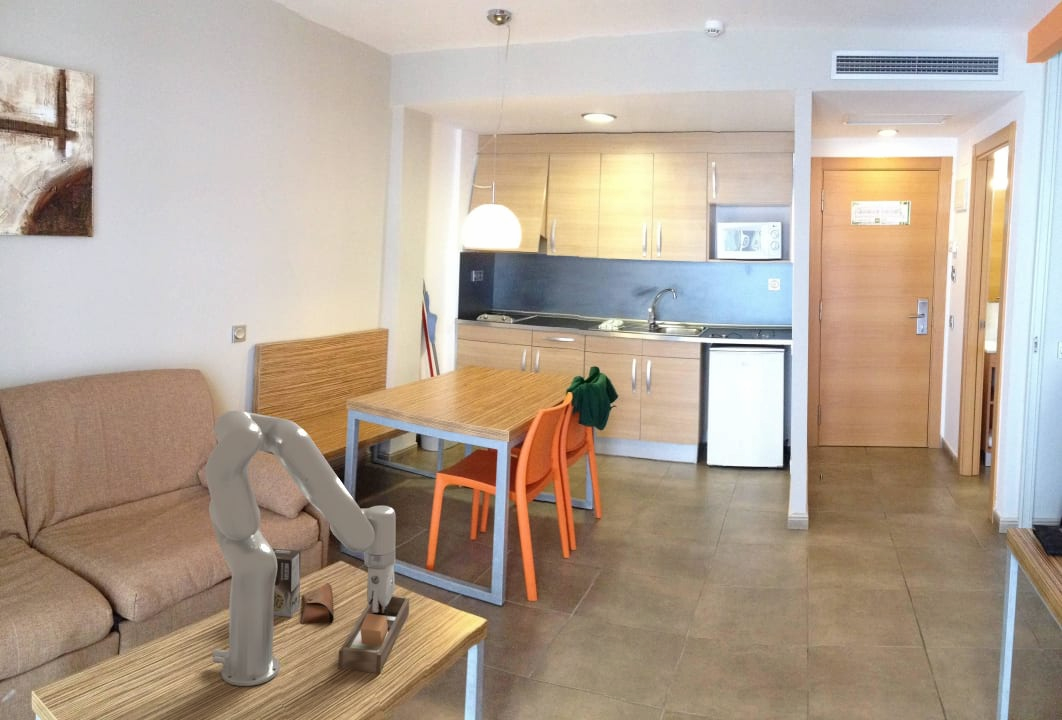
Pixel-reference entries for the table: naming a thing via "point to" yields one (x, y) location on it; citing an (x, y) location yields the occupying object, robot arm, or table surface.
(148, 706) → the table surface
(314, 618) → the sunglasses case
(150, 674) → the table surface
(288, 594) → the coffee box
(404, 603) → the trap box
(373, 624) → the block
